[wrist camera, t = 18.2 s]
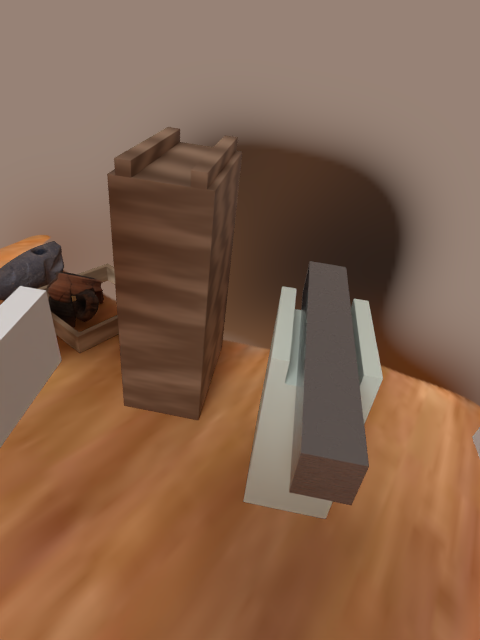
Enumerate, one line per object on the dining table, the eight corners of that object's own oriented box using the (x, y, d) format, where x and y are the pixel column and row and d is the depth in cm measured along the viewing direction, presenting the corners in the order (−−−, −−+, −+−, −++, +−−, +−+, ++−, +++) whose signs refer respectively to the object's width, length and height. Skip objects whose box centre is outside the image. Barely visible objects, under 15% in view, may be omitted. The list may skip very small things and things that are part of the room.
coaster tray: (24, 309, 70) (20, 294, 68) (108, 277, 81) (107, 263, 79) (79, 353, 62) (77, 337, 61) (164, 311, 74) (164, 296, 72)
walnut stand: (198, 420, 54) (216, 173, 36) (124, 405, 55) (105, 156, 37) (221, 346, 67) (243, 138, 50) (161, 334, 68) (161, 126, 50)
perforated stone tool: (5, 312, 69) (-5, 275, 65) (-16, 301, 71) (-27, 264, 67) (76, 277, 80) (71, 244, 76) (56, 269, 82) (50, 236, 78)
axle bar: (351, 505, 27) (368, 466, 24) (289, 492, 27) (300, 452, 25) (337, 298, 48) (346, 267, 46) (302, 292, 48) (309, 261, 46)
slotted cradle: (325, 519, 45) (382, 378, 33) (243, 501, 46) (271, 357, 34) (324, 433, 55) (368, 301, 43) (256, 419, 55) (282, 286, 44)
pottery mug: (30, 316, 69) (39, 267, 69) (82, 320, 77) (90, 276, 76) (67, 332, 62) (77, 278, 62) (120, 335, 70) (130, 286, 69)
